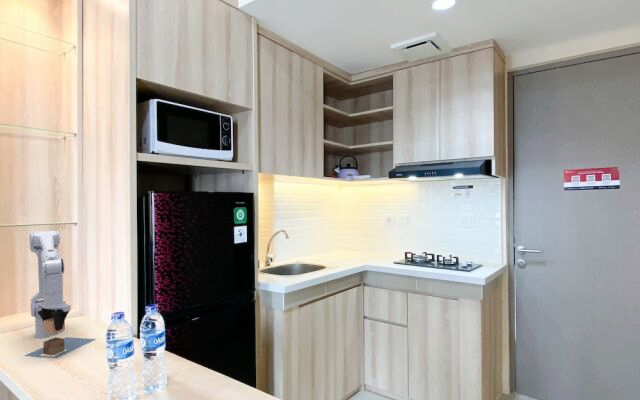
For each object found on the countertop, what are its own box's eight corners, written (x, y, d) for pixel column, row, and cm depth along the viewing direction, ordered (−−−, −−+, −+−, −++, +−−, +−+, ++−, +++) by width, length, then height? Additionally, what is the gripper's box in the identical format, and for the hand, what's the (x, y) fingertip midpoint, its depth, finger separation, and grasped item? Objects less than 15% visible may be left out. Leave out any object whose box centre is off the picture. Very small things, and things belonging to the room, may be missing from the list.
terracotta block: (56, 328, 140) (55, 316, 140) (64, 329, 139) (64, 317, 138) (43, 332, 136) (43, 320, 136) (52, 334, 134) (52, 321, 134)
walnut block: (43, 354, 135) (43, 341, 135) (55, 349, 140) (55, 337, 140) (52, 355, 134) (52, 343, 134) (64, 350, 138) (64, 338, 138)
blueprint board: (66, 339, 152) (66, 336, 152) (96, 341, 150) (96, 338, 150) (23, 358, 134) (23, 355, 134) (57, 360, 132) (57, 358, 132)
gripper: (78, 290, 138) (78, 327, 139) (49, 288, 143) (50, 323, 143) (59, 295, 132) (60, 334, 132) (30, 292, 136) (31, 330, 136)
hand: (54, 329), depth 137 cm, fingers closed on terracotta block, 4 cm apart
